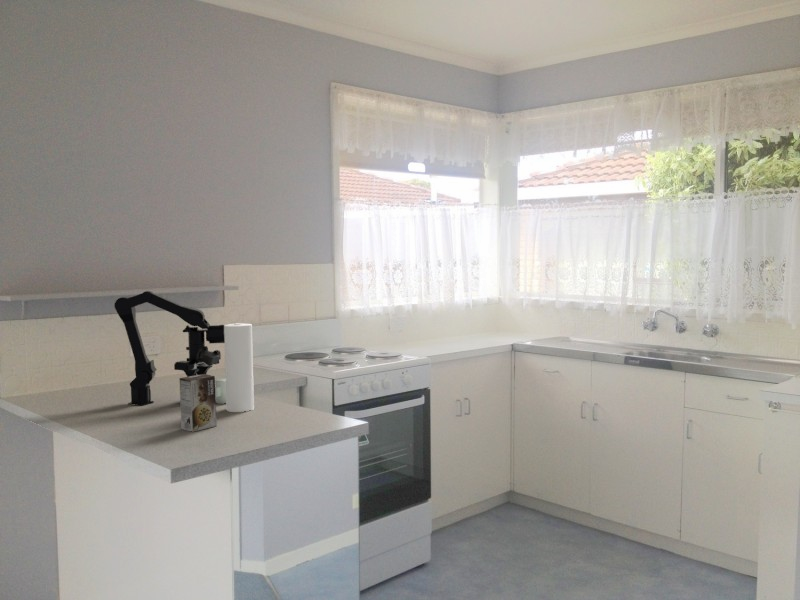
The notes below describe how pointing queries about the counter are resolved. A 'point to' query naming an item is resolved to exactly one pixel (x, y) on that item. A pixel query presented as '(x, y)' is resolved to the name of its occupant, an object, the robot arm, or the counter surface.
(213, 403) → the cookie box
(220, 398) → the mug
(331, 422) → the counter surface
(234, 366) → the paper towel roll
